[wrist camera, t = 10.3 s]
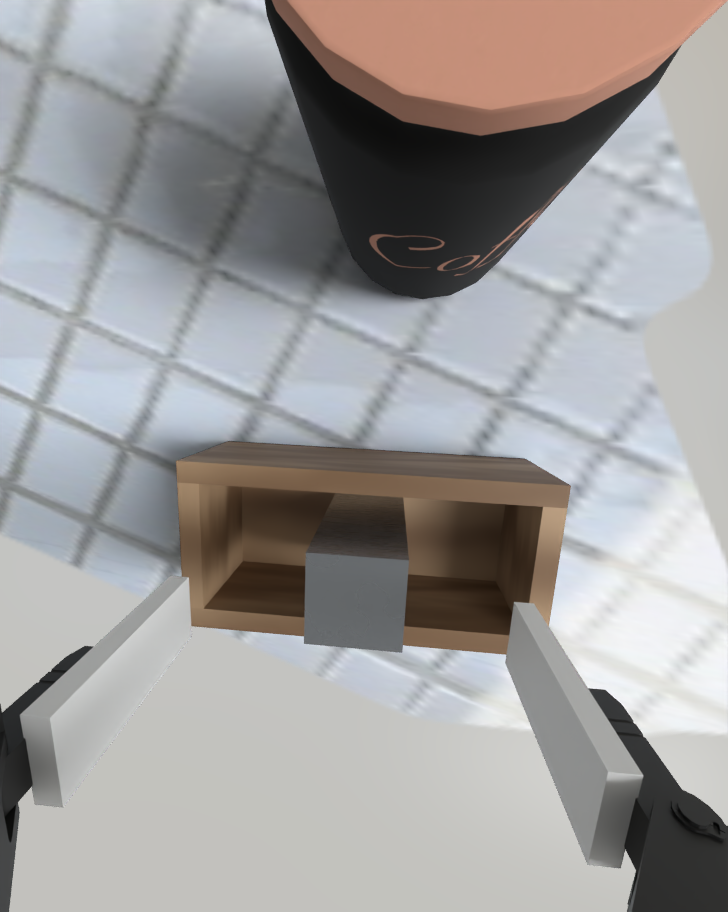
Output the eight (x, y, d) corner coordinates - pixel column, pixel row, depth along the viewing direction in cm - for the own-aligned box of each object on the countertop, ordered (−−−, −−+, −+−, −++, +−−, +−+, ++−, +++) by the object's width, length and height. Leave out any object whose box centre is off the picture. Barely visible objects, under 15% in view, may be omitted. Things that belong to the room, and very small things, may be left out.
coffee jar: (366, 324, 25) (305, 193, 8) (319, 147, 23) (97, -563, 6) (532, 273, 24) (924, -25, 6) (495, 82, 22) (900, -1085, 4)
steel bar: (337, 489, 27) (305, 552, 17) (402, 493, 26) (409, 560, 17) (335, 549, 28) (304, 643, 18) (398, 554, 27) (402, 652, 17)
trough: (228, 441, 27) (176, 460, 21) (525, 458, 26) (570, 485, 19) (231, 569, 29) (184, 625, 23) (507, 592, 28) (543, 657, 21)
